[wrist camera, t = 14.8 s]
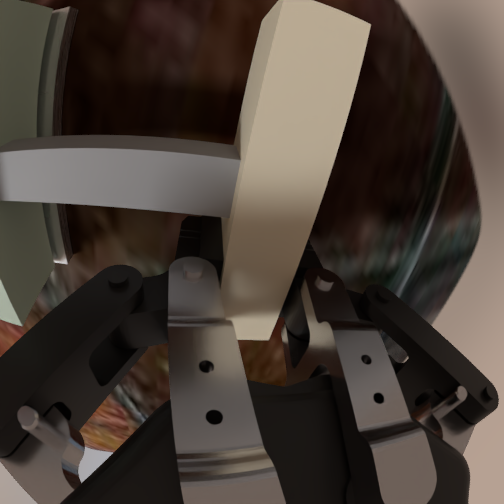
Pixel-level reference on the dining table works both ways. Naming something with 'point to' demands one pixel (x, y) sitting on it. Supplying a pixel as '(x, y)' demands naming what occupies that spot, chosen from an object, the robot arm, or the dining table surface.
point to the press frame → (55, 117)
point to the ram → (188, 159)
